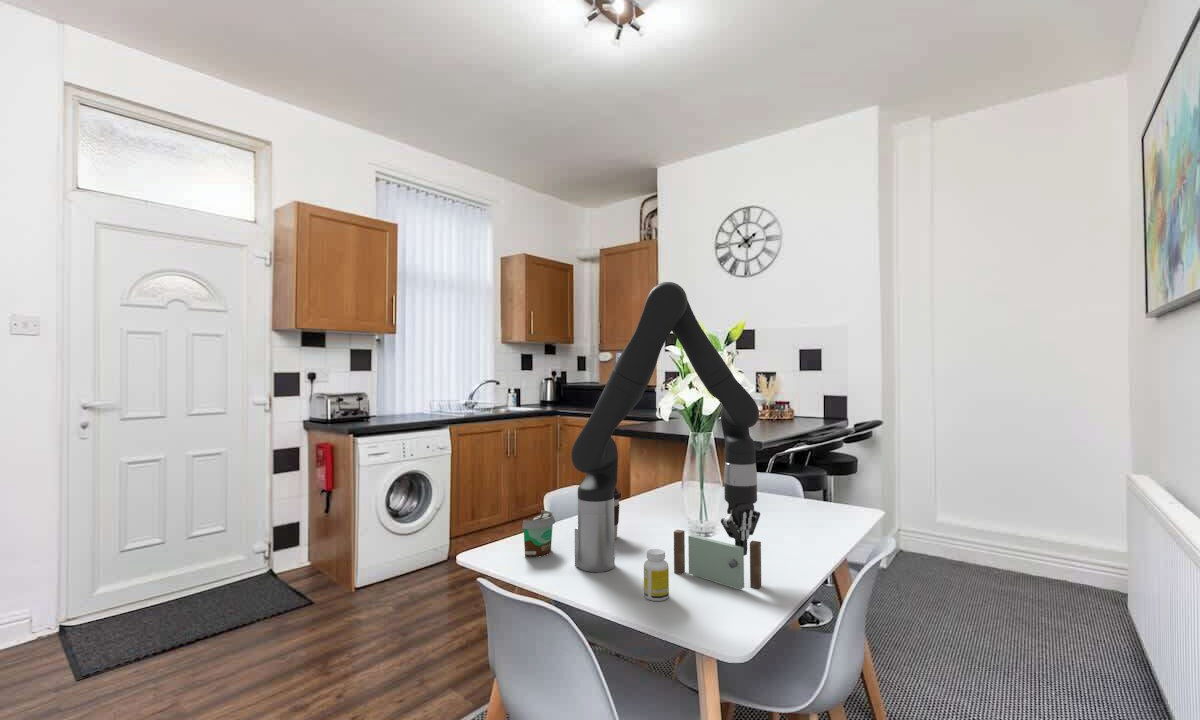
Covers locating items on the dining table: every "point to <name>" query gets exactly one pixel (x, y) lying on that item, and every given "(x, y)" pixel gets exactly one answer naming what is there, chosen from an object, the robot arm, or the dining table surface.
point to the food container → (538, 534)
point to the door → (716, 561)
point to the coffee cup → (616, 510)
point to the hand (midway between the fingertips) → (741, 554)
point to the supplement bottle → (656, 576)
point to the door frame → (754, 558)
